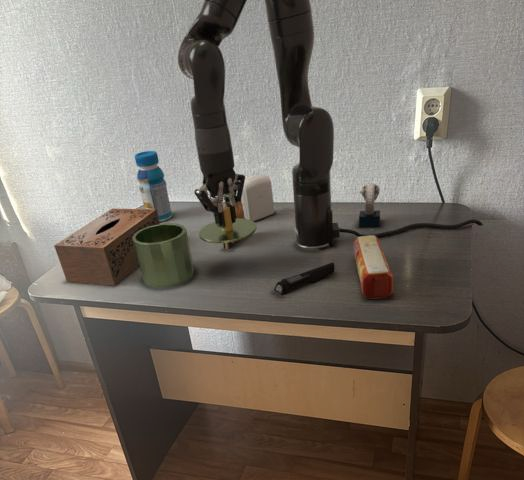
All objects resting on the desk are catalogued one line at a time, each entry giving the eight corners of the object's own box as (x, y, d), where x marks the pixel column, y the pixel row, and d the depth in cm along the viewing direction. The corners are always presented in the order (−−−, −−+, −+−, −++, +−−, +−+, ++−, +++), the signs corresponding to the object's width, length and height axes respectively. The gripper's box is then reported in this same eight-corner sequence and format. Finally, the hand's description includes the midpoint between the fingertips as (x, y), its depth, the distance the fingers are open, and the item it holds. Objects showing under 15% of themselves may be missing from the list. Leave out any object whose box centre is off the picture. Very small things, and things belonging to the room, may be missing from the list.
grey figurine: (380, 218, 144) (381, 179, 138) (379, 229, 138) (380, 189, 132) (359, 219, 146) (360, 180, 139) (358, 230, 139) (358, 189, 133)
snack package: (352, 259, 125) (352, 232, 121) (380, 257, 124) (380, 230, 120) (361, 302, 107) (361, 272, 104) (393, 300, 107) (394, 270, 103)
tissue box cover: (121, 241, 150) (112, 208, 145) (164, 243, 146) (156, 209, 140) (67, 282, 131) (54, 245, 125) (114, 285, 126) (103, 247, 120)
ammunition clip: (229, 250, 137) (223, 206, 130) (223, 250, 137) (217, 206, 131) (248, 235, 144) (243, 193, 138) (242, 234, 145) (237, 192, 138)
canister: (196, 264, 132) (188, 221, 125) (191, 286, 121) (181, 241, 115) (149, 268, 133) (138, 226, 126) (139, 291, 122) (127, 246, 116)
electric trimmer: (338, 277, 118) (338, 264, 116) (282, 298, 112) (281, 285, 111) (328, 271, 121) (328, 259, 119) (273, 292, 115) (272, 279, 113)
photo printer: (249, 224, 152) (244, 182, 145) (241, 220, 154) (235, 179, 148) (276, 214, 156) (272, 172, 149) (267, 211, 159) (264, 170, 152)
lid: (257, 220, 126) (254, 195, 122) (256, 242, 115) (253, 215, 111) (202, 226, 127) (198, 201, 123) (196, 248, 116) (191, 222, 112)
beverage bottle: (170, 221, 160) (156, 155, 149) (144, 224, 161) (128, 158, 149) (174, 212, 167) (161, 148, 156) (149, 214, 168) (134, 151, 156)
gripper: (200, 158, 103) (214, 238, 113) (249, 140, 111) (259, 217, 121) (178, 154, 108) (193, 231, 118) (227, 138, 116) (237, 212, 125)
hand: (226, 224), depth 119 cm, fingers closed on lid, 2 cm apart
